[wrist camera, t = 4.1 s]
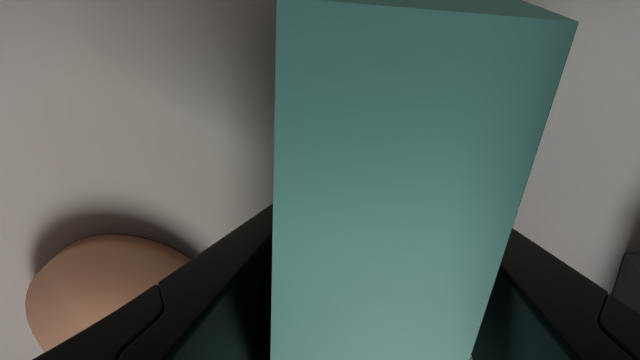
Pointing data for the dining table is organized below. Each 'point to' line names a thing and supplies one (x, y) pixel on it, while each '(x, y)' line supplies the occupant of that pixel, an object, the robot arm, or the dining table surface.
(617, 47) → the dining table surface
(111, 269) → the tan disc
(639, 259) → the tray
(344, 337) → the rod
